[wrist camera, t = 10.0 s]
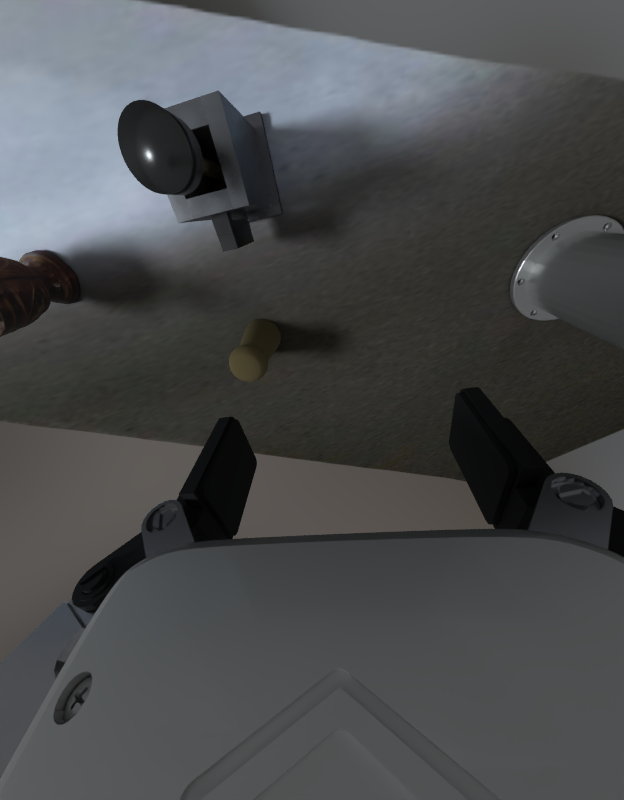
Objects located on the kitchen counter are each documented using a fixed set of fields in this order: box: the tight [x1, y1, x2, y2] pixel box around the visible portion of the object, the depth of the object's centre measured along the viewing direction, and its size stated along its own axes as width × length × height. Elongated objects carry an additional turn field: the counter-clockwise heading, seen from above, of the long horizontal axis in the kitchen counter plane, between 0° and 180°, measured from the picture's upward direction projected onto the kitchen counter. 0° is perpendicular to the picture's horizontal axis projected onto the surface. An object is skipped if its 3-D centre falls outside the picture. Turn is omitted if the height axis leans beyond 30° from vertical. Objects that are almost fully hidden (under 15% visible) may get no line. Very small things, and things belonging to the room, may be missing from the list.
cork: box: [229, 319, 281, 382], centre depth 39 cm, size 6×6×11 cm
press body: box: [165, 91, 283, 252], centre depth 28 cm, size 9×11×12 cm
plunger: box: [118, 100, 227, 195], centre depth 23 cm, size 4×4×15 cm
